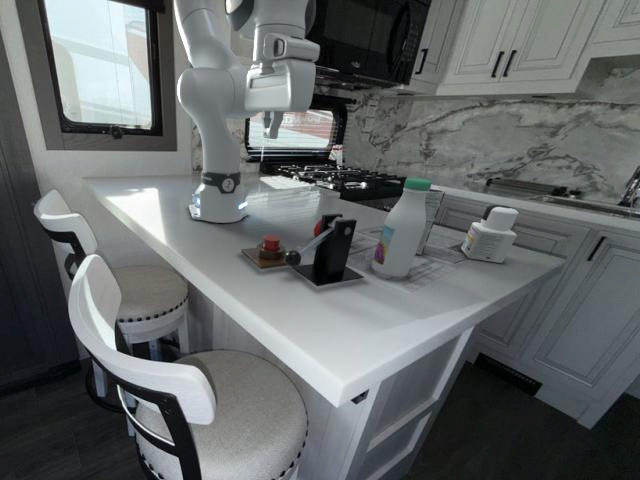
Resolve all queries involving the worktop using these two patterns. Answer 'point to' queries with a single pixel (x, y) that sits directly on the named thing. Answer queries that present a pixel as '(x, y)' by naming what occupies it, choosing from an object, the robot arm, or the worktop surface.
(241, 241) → the worktop surface
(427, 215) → the candy bar box
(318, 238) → the lever
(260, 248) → the button block
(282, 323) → the worktop surface
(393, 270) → the milk bottle
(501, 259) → the container
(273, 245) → the button
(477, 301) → the worktop surface
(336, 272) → the bracket
